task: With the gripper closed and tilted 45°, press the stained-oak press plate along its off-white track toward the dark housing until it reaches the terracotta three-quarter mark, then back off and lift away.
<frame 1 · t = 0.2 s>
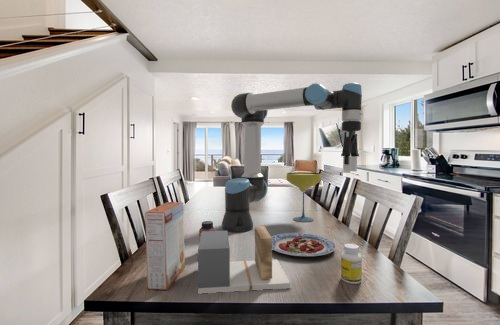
hand: (350, 172, 114), 28 cm above the table, tool pointing down, fingers open, 13 cm apart
cocktail glass: (303, 219, 146), on the table
ceramic plate: (300, 249, 103), on the table
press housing: (242, 277, 78), on the table
supplement bottle 2: (207, 253, 97), on the table
cracker box: (167, 279, 78), on the table
supplement bottle: (351, 280, 77), on the table
press plate: (262, 250, 79), point 8 cm above the table, slide at 0.0 cm
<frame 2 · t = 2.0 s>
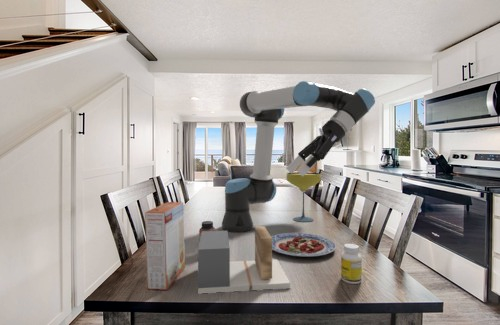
hand: (293, 172, 91), 30 cm above the table, tool tilted 45°, fingers open, 12 cm apart
nothing on the table moved.
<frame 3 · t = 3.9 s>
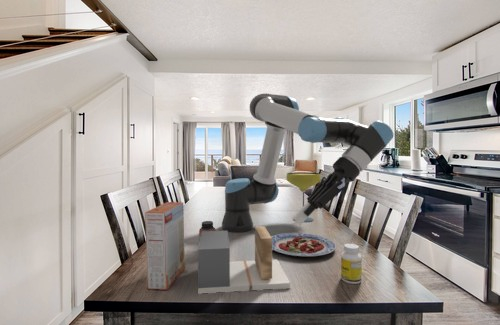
hand: (296, 221, 80), 16 cm above the table, tool tilted 45°, fingers closed
nothing on the table moved.
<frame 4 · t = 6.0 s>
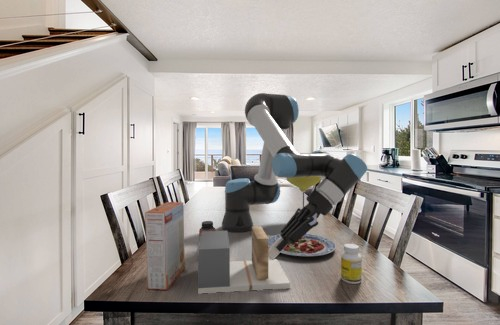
hand: (268, 256, 79), 6 cm above the table, tool tilted 45°, fingers closed
press plate: (259, 250, 79), point 8 cm above the table, slide at 1.0 cm, touching gripper
everything else where it was.
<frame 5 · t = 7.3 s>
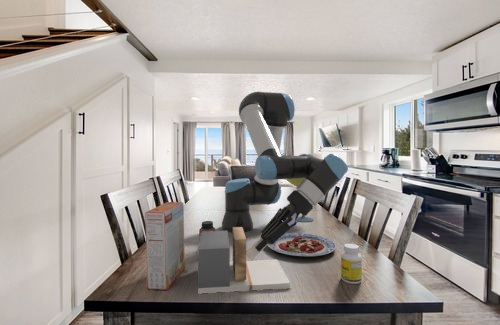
hand: (248, 256, 78), 6 cm above the table, tool tilted 45°, fingers closed
press plate: (238, 251, 78), point 7 cm above the table, slide at 7.0 cm, touching gripper
everything else where it was.
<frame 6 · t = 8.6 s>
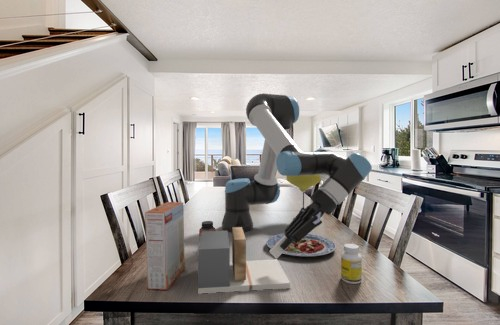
hand: (272, 254, 79), 6 cm above the table, tool tilted 45°, fingers closed
press plate: (238, 251, 78), point 8 cm above the table, slide at 7.1 cm
everything else where it was.
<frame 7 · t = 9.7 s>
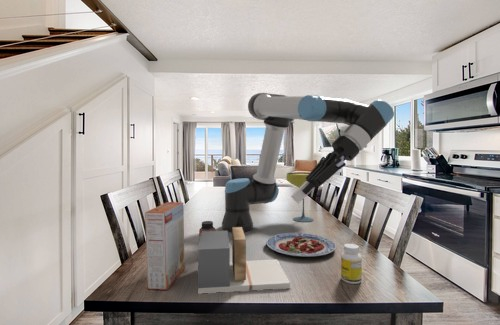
hand: (294, 200, 79), 22 cm above the table, tool tilted 45°, fingers closed
nothing on the table moved.
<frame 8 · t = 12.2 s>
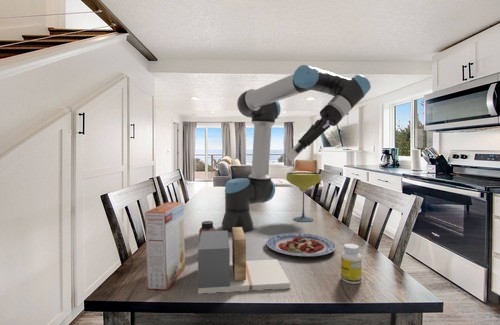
hand: (288, 158, 95), 34 cm above the table, tool tilted 45°, fingers closed
nothing on the table moved.
at the end: press plate slide at 7.1 cm; ceramic plate moved 0.5 cm from its start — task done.
